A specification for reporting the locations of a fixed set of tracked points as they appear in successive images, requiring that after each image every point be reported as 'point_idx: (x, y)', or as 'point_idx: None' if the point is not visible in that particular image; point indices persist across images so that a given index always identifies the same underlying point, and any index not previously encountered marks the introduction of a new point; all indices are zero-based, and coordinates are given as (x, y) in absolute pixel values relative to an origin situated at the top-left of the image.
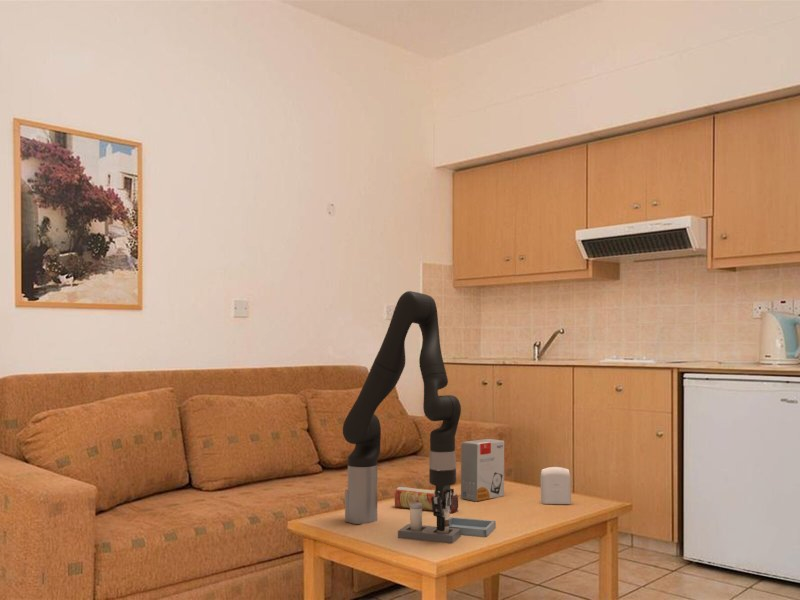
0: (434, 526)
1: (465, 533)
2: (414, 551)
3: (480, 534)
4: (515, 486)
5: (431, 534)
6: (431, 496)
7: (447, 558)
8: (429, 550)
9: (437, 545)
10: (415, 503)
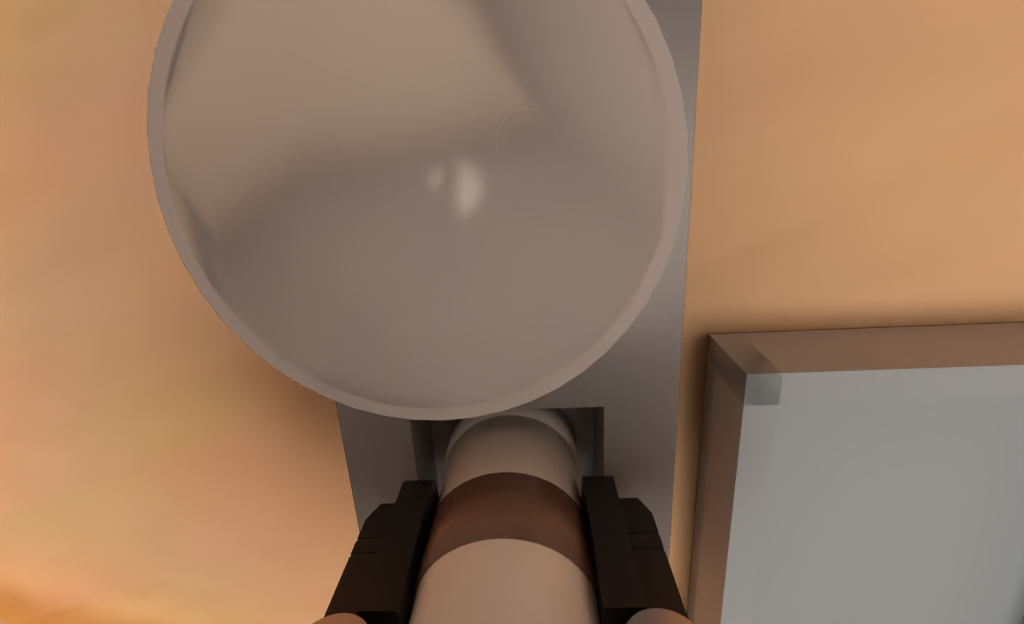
0: (680, 343)
1: (700, 588)
2: (44, 335)
3: None
4: None
5: (340, 420)
6: None
7: (63, 605)
8: (155, 437)
9: (330, 445)
10: (406, 160)
